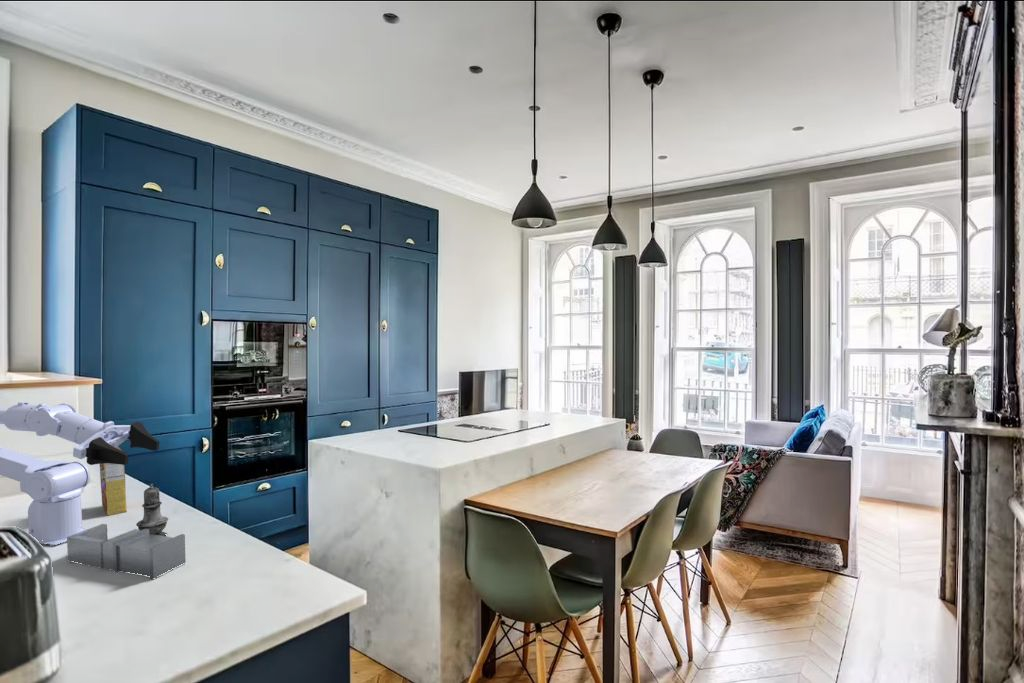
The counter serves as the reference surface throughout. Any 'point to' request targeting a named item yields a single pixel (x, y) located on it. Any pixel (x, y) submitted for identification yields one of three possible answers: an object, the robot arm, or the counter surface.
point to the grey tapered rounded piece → (152, 513)
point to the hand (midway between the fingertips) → (142, 452)
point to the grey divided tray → (127, 551)
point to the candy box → (113, 488)
